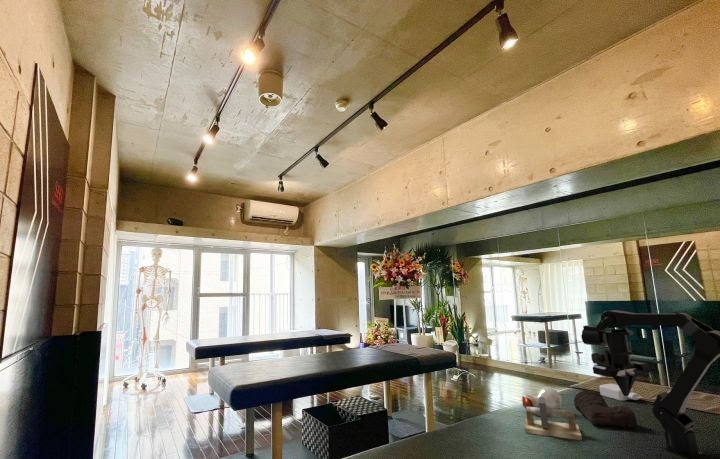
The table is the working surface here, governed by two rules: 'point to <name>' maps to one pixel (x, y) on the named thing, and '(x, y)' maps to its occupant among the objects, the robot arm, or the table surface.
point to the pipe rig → (552, 424)
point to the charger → (617, 392)
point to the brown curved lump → (603, 410)
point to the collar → (543, 412)
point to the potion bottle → (551, 399)
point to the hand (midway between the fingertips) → (625, 395)
